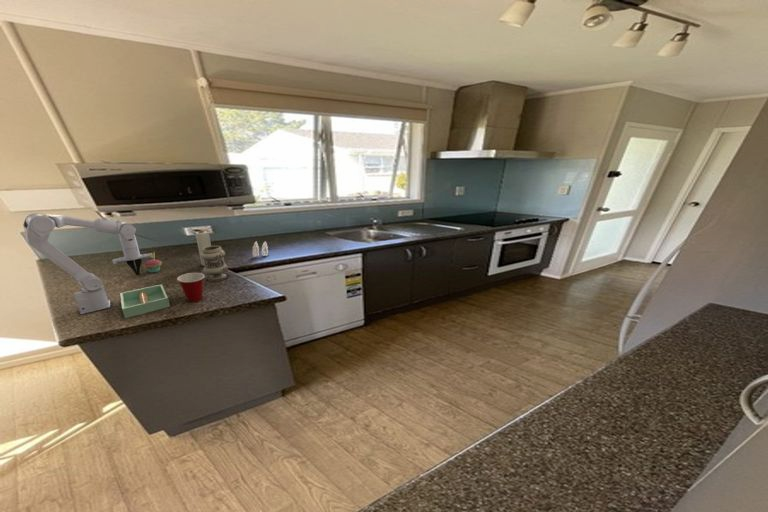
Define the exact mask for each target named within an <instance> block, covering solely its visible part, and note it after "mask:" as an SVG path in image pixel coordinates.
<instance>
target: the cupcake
mask: <svg viewBox="0 0 768 512" xmlns="http://www.w3.org/2000/svg"><path fill="white" fill-rule="evenodd" d="M152 255H153V258H150V259H149V260H146V261H145V262H144V263H143V265H142V266H143V268H145V269H146V270H148V272H149V273H157V272H159V271H160V270H161V269H160V268H161V265H162V264H163V263H162V260H160V259H156V258H155V257H156V255H155V252H152Z"/></svg>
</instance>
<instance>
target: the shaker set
mask: <svg viewBox="0 0 768 512" xmlns="http://www.w3.org/2000/svg"><path fill="white" fill-rule="evenodd" d="M258 243H259V242H258V241H255V242H254V243H253V246H252V257H253V258H254V259H255V258H259V257H260V246H259V244H258ZM268 255H269V246H268V243H267V241H264V242H263V244H262V246H261V256H263V257H264V256H268Z"/></svg>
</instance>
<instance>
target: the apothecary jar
mask: <svg viewBox="0 0 768 512" xmlns="http://www.w3.org/2000/svg"><path fill="white" fill-rule="evenodd" d="M225 256H226V251H225V250H223V248H222V247H221V246H220V245H211V246H209V247H205V248H204V249H203V252H202V253H201V258H202V259H204V262H205V266H203V273H204V274H206V275H208V277H207V281H209V282H218V281H223V280H225V279H227V278H228V274H226V273H225V272H227V270H229V266H228V265H229V264H227V263H225V258H224V257H225Z"/></svg>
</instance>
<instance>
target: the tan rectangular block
mask: <svg viewBox="0 0 768 512" xmlns="http://www.w3.org/2000/svg"><path fill="white" fill-rule="evenodd" d="M138 296H139V300H140V304H142V303H146V302H149V300H148V297H147V294H146V292H144V291H141V292H139V293H138Z"/></svg>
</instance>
